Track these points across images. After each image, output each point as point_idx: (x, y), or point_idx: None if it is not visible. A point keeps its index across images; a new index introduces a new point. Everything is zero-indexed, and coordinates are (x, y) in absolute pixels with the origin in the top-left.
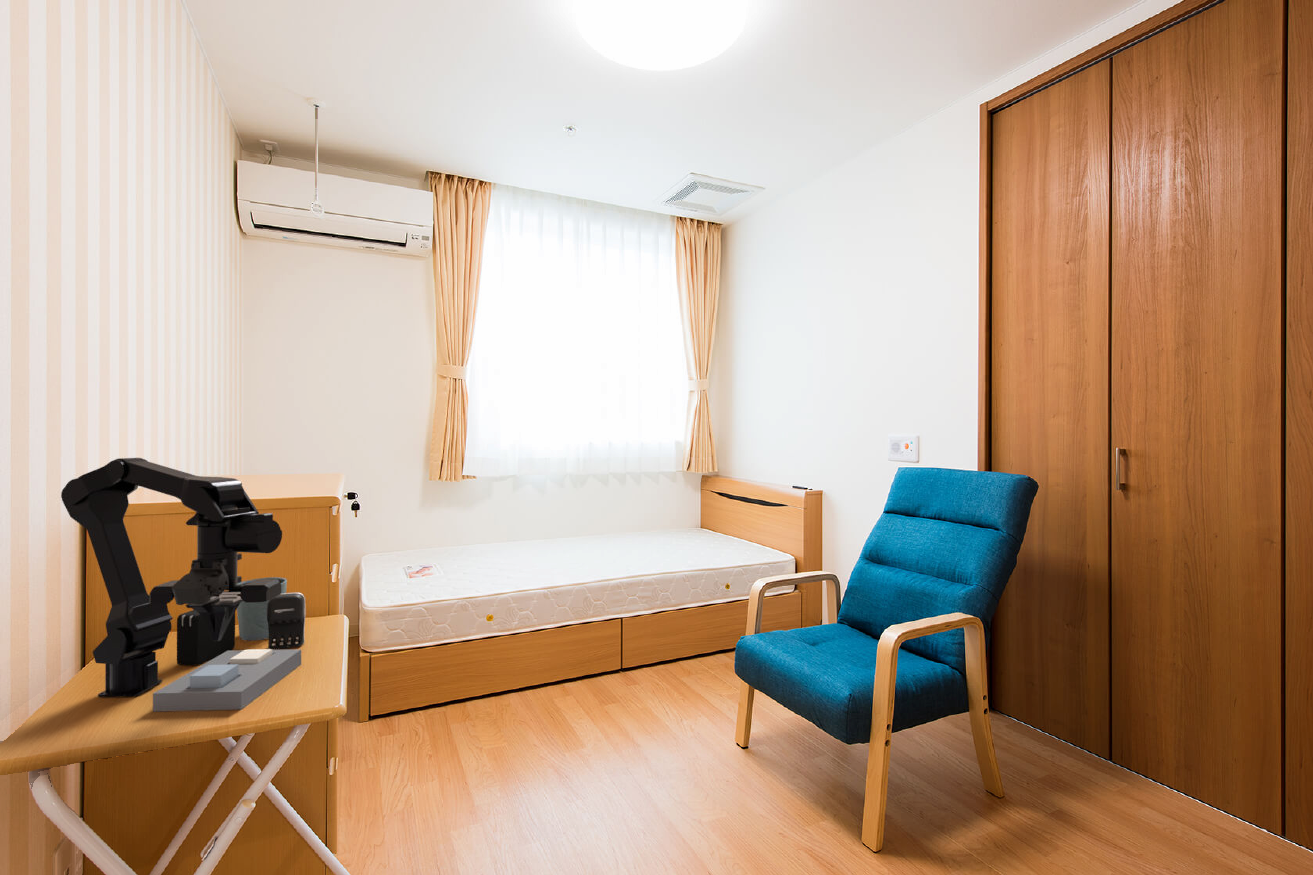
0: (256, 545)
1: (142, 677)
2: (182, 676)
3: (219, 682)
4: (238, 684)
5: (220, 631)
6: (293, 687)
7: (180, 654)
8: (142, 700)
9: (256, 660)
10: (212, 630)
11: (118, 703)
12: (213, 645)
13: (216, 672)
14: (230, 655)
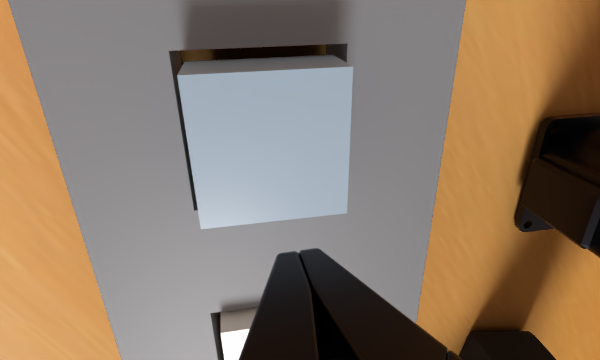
0: None
1: (578, 170)
2: (437, 177)
3: (188, 67)
4: (115, 98)
5: (258, 312)
6: (8, 220)
7: (539, 353)
8: (509, 92)
9: (226, 325)
10: (338, 303)
11: (573, 67)
12: None
13: (239, 121)
14: None
